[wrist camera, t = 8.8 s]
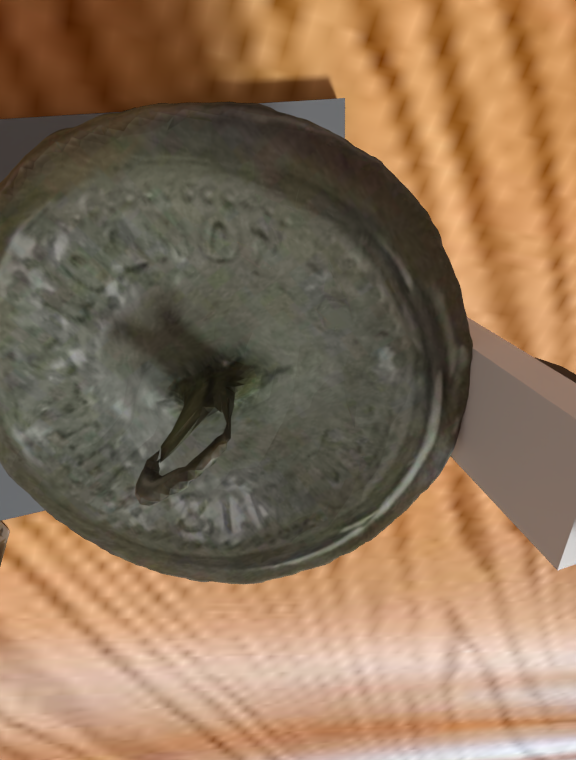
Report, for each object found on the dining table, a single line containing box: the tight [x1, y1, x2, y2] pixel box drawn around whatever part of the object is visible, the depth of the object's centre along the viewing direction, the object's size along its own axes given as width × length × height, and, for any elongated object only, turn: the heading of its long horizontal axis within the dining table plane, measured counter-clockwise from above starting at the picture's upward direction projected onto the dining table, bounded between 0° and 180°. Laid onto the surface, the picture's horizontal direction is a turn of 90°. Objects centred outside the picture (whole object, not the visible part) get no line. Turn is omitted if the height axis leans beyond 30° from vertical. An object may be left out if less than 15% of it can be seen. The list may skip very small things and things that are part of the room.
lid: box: [0, 102, 473, 584], centre depth 9 cm, size 11×10×5 cm
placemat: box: [0, 98, 345, 521], centre depth 16 cm, size 14×13×1 cm
